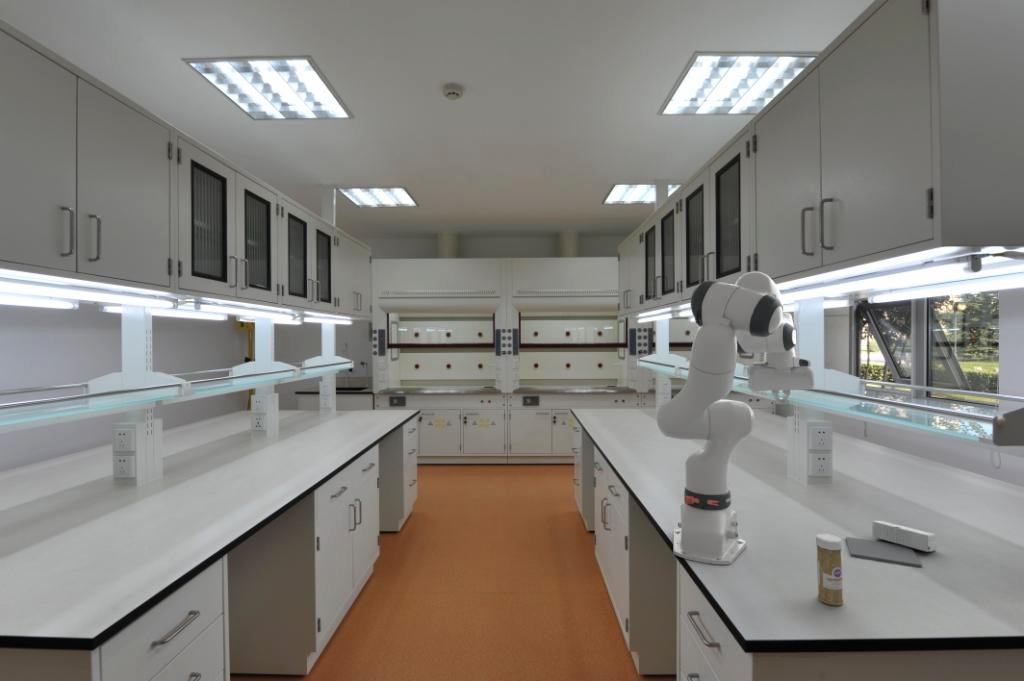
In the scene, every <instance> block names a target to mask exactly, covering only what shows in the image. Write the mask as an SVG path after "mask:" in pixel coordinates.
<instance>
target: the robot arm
mask: <svg viewBox="0 0 1024 681" xmlns="http://www.w3.org/2000/svg"><path fill="white" fill-rule="evenodd" d="M783 305H784V302H783V297H782V295H781V292H780V289H779V288H778V286H777V285H776V283H775V282H774V280H773V279H772V278H771V277H769V275H768V274H766V273H764V272H762V271H761V272H760V271H750V272H747V273H744V274H743V275H741V276H740V277H739V278H738V279H737V281H736V282H735V284H732V283H726V282H720V281H718V280H703V281H702V282H700V283H699V284H698V285H697V286H696V287H695V288H694V290H693V292H692V295H691V298H690V310H691V313H692V315H693V317H694V321H695V323H696V324H697V325H698V326H699V327H698V329H697V330H696V334H695V336H694V339H693V343H692V346H691V351H690V358H689V366H688V373H687V378H686V380H685V384H684V386H683V388H682V389H681V390H680V391H679V392H678V393H677V394H676V395H675V396H674V397H672V398H671V399H669V400H668V401H665V402H663V404H662V405H661V406H660V407H659V408H658V410H657V413H656V423H657V426H658V429H659V431H660V432H661V433H662V435H663V436H665V437H668V438H672V439H677V440H686V441H687V440H691V441H692V440H693V441H694V440H695V441H697V440H703V441H705V440H706V443H705V445H704V446H703V447H702V448H701V449H699V450H698V451H695V452H693V453H691V454H690V455H689V457H688V458H687V459H686V461H685V465H684V466H685V486H684V491H683V497H684V503H682V504H681V505H680V522H678V523H677V527H678V528H679V529H673V537H672V538H673V540H672V542H673V543H672V547H673V549H672V552H673V555H675V556H678V557H679V558H682V559H686V560H690V561H694V562H699V563H704V564H712V565H731V564H732V563H733V562H734V561H735V560H736V559H737V557H738V556H739V555H740V554H741V553H742V551H743V550H744V549H745V548H746V547H747V543H746V540H744V539H742V538H740V536H739V535H740V534H739V523H738V522H739V521H738V520H739V519H738V513H737V512H736V511H735V510H734V508H732V506H731V504H732V495H731V491H730V489H729V472H730V463H731V459H732V456H733V454H734V452H735V451H736V449H737V447H738V446H739V445H740V444H741V443H742V442H743V441H744V440H746V439H747V438H748V437H750V435H752V433H753V432H754V429H755V426H756V415H755V413H754V411H753V409H752V407H751V406H750V405H749V404H748V403H746V402H744V401H738V400H731V399H724V398H726V397H727V396H728V395H729V394H730V393H731V390H732V389H733V384H734V378H735V374H736V373H735V372H736V366H737V360H738V359H737V358H738V354H740V355H742V354H743V355H744V354H745V355H746V354H756V353H757V354H758V353H759V354H760V353H761V354H764V361H761V362H752V363H751V364H750V365H748V368H747V369H748V371H747V373H748V378H747V379H748V380H747V381H748V382H747V387H748V390H750V391H752V392H753V391H754V392H760V391H761V392H764V391H771V395H772V396H773V398H774V400H775V404H776V405H787V404H788V399H789V397H790V395H791V391H795V390H796V391H797V390H798V391H799V390H804V391H805V390H812V389H814V387H815V376H814V372H813V369H812V368H811V367H812V361H811V360H810V359H807V358H802V357H799V356H796V350H795V347H796V346H797V344H798V334H797V332H798V331H797V327H796V328H795V326H794V321H793V317H792V314H791V313H789V312H786V311H784V306H783ZM780 391H782V393H783V395H782V396H781V398H780V396H779V394H780Z"/></svg>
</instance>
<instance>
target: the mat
mask: <svg viewBox="0 0 1024 681" xmlns="http://www.w3.org/2000/svg"><path fill="white" fill-rule="evenodd" d="M845 541H846V544H847V545H846V546H847V548H848V551H849V555H850V557H853V556H855V558H860V559H861V558H862V559H867V560H873V561H879V562H885V563H892V564H899V565H905V566H911V567H917V568H923V564H922V562H921V561H920V560H919V557H918V556H917V554H916V552H915V551H914V548H911V547H908V546H904V545H901V544H897V543H893V542H887V541H886V542H884V541H878V540H871V539H870V540H869V539H865V538H858V537H857V538H856V537H850V536H845Z"/></svg>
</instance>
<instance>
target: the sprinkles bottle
mask: <svg viewBox="0 0 1024 681" xmlns="http://www.w3.org/2000/svg"><path fill="white" fill-rule="evenodd" d="M842 544H843V543H842V539H841V538H840V537H839V536H838V535H837V536H836V535H832V534H829V533H818V534H816V536H815V545H816V555H817V556H816V570H817V571H816V572H817V585H818V594H817V598H818V600H819V601H821V602H822V603H824V604H826V605H829V606H836V607H837V606H842V605H843V603H844V600H843V570H842V567H843V566H842V553H841V552H842V548H843V547H842V546H843V545H842Z"/></svg>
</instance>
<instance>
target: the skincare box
mask: <svg viewBox="0 0 1024 681" xmlns="http://www.w3.org/2000/svg"><path fill="white" fill-rule="evenodd" d="M871 528H872V531H871V532H872V533H871V534H872V538H876V539H880V540H883V541H886V542H889V543H893V544H900V545H904V546H908V547H911V548H912V549H915V550H919V551H923V552H927V553H928V552H934V551H936V550H937V535H936V533H931V532H928V531H924V530H919V529H916V528H912V527H908V526H903V525H899V524H895V523H891V522H888V521H883V520H874V521H872V527H871Z"/></svg>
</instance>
